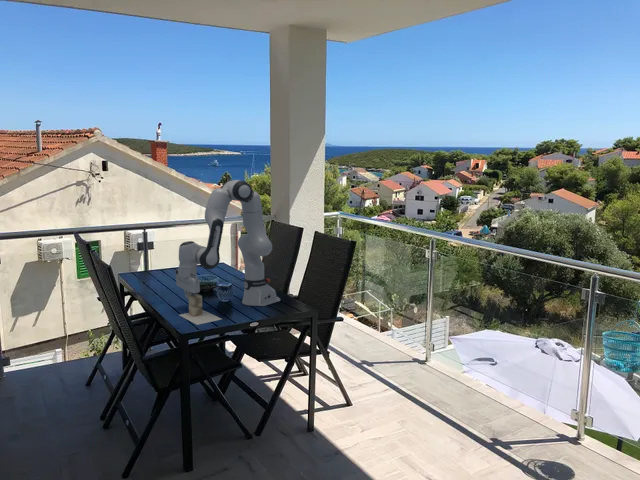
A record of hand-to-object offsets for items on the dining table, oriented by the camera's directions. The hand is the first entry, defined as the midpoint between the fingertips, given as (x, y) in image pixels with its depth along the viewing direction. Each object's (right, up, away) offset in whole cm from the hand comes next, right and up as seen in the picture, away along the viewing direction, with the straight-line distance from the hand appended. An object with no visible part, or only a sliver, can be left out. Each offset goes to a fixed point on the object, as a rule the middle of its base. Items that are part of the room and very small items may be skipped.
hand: (188, 297), depth 252 cm
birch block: (+5, -8, -5) cm, 11 cm away
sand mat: (+8, -9, -8) cm, 15 cm away
